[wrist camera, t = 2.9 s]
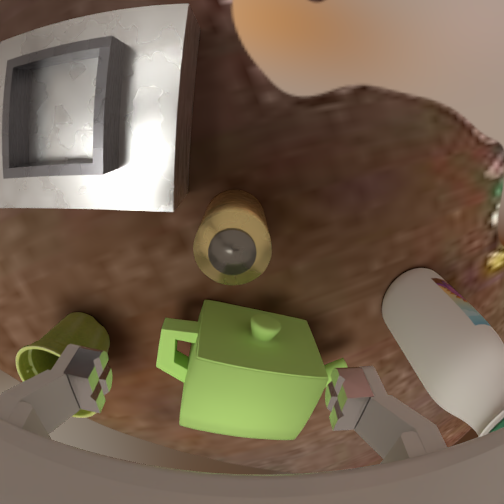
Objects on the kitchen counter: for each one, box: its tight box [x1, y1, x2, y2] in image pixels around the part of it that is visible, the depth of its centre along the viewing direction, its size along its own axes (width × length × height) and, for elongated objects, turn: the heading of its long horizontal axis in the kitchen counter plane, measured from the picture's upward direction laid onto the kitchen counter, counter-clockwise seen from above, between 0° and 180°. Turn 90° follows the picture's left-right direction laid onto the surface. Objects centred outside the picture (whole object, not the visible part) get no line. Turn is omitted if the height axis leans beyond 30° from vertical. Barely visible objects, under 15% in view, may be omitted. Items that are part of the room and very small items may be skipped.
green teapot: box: [156, 300, 347, 440], centre depth 27 cm, size 18×10×10 cm, turn 74°
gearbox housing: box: [0, 3, 200, 212], centre depth 18 cm, size 14×16×8 cm
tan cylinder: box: [193, 190, 272, 285], centre depth 23 cm, size 5×5×8 cm
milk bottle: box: [382, 268, 504, 437], centre depth 21 cm, size 8×8×20 cm
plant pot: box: [16, 312, 110, 418], centre depth 27 cm, size 9×9×9 cm
